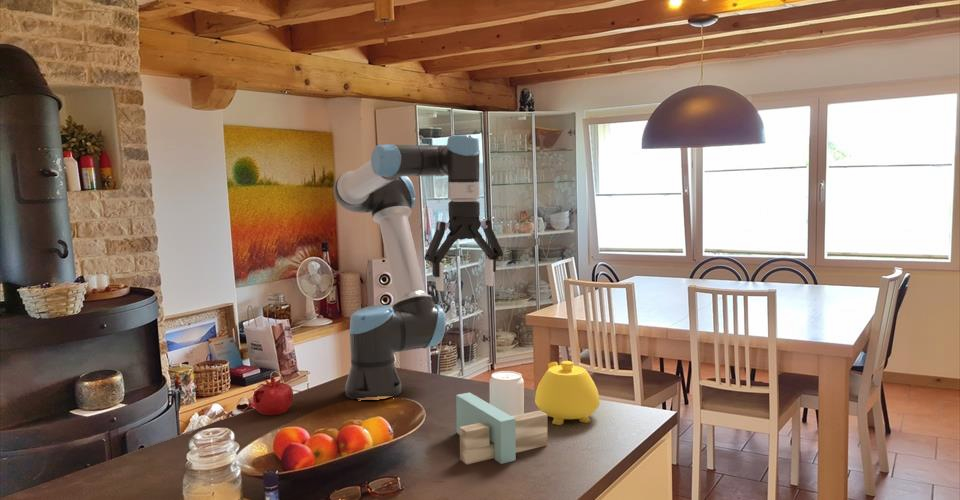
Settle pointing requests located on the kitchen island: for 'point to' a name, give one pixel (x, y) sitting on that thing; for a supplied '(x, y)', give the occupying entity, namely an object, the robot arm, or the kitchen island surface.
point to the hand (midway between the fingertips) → (465, 288)
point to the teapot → (567, 393)
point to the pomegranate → (273, 397)
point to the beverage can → (507, 392)
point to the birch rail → (481, 448)
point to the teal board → (488, 424)
